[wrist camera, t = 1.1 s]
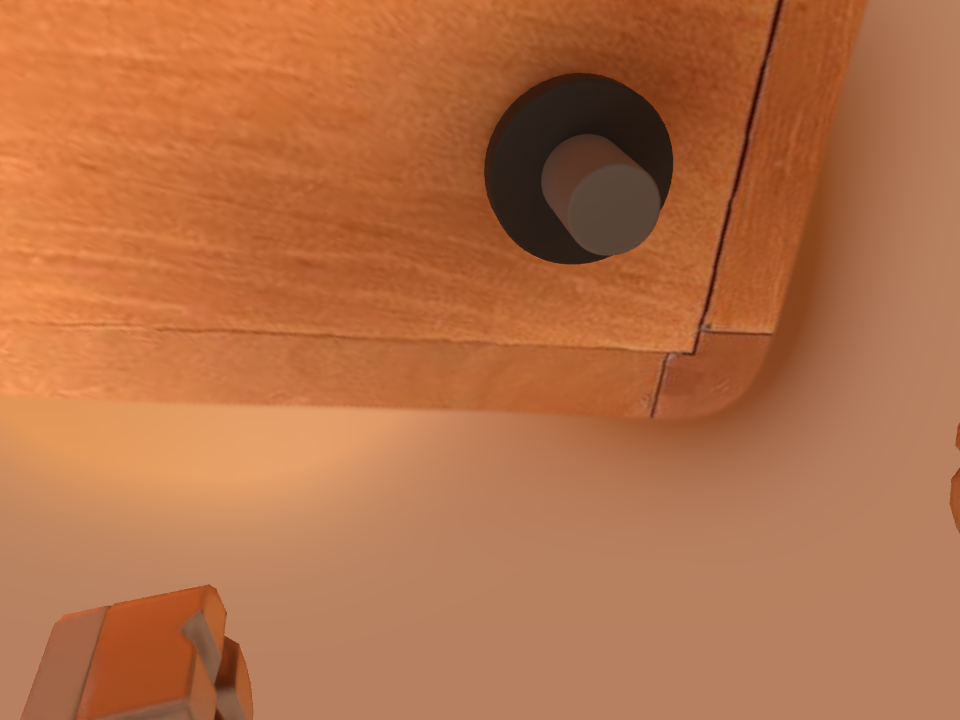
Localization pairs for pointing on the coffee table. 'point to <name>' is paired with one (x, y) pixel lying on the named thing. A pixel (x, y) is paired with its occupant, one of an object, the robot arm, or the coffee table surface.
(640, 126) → the stopper
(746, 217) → the coffee table surface
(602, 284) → the coffee table surface
